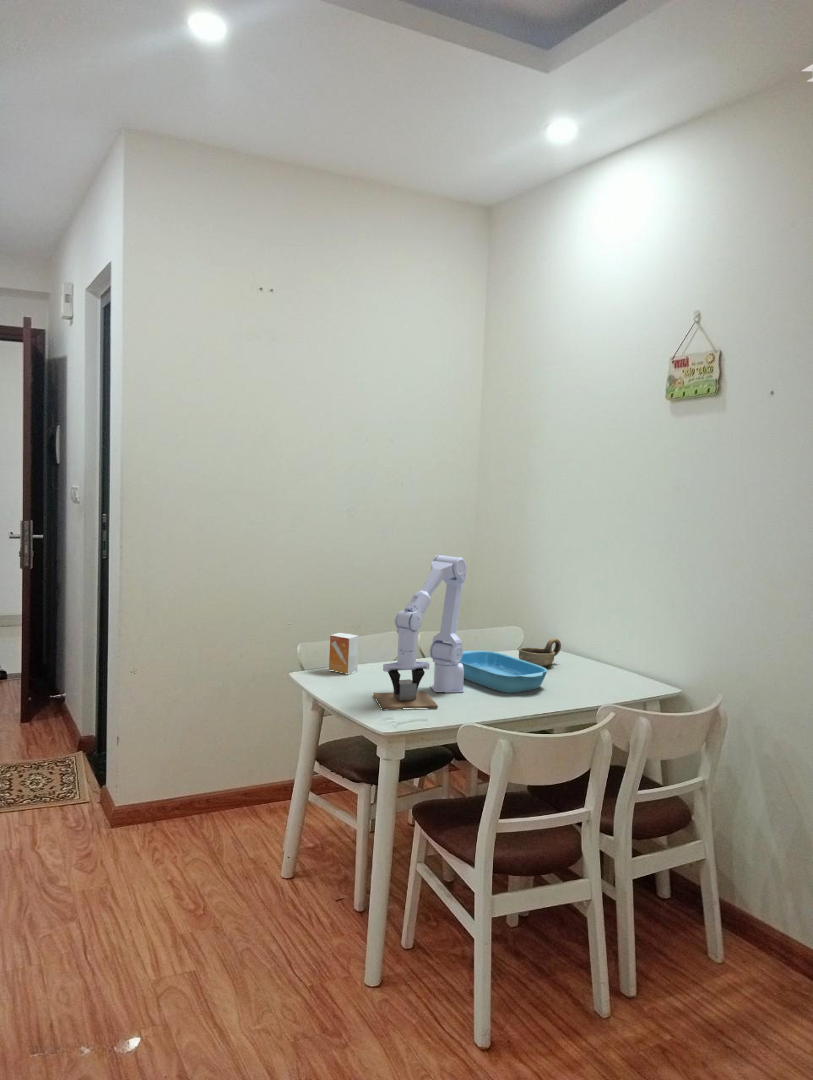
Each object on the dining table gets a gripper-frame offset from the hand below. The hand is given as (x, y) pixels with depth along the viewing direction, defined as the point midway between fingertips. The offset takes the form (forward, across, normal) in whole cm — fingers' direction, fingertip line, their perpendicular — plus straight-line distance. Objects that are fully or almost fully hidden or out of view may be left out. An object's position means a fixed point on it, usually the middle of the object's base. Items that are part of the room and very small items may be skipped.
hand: (405, 693), depth 249 cm
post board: (+3, 0, 0) cm, 3 cm away
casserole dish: (+3, -40, -16) cm, 43 cm away
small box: (+3, +8, -40) cm, 41 cm away
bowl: (+3, -67, -33) cm, 75 cm away
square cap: (+2, 0, 0) cm, 2 cm away
